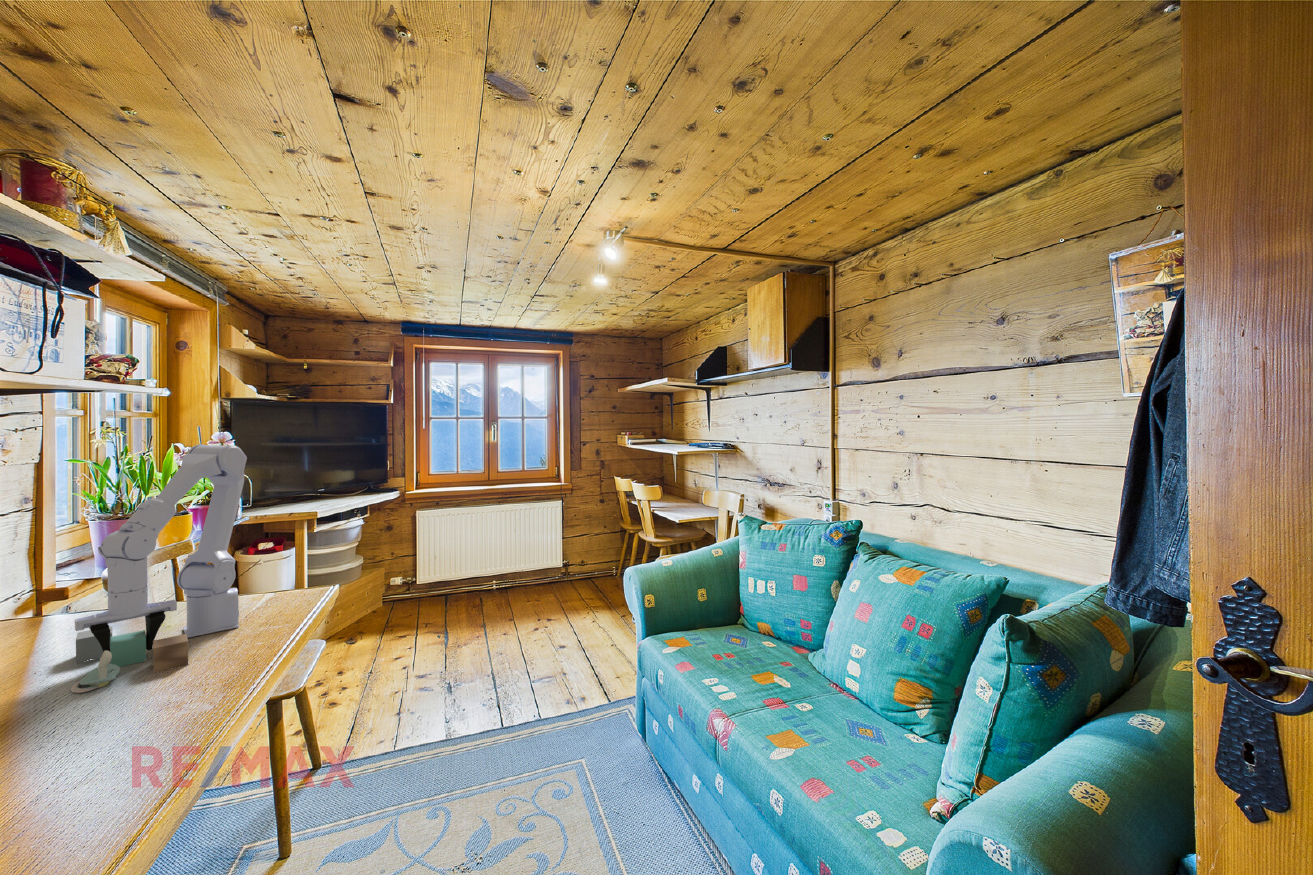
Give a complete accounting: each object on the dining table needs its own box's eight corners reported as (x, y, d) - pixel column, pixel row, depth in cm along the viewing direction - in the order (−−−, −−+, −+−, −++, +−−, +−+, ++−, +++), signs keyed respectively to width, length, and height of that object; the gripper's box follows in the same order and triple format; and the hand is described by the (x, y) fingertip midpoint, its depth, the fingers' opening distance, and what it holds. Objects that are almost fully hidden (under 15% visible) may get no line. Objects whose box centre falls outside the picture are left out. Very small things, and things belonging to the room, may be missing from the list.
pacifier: (66, 699, 91) (114, 688, 95) (64, 665, 91) (112, 655, 95) (76, 683, 97) (121, 672, 101) (74, 651, 97) (119, 641, 100)
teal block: (145, 653, 109) (145, 629, 109) (146, 660, 106) (145, 636, 106) (111, 660, 105) (111, 636, 105) (110, 668, 102) (110, 644, 102)
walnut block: (186, 657, 108) (186, 633, 108) (188, 665, 104) (188, 640, 104) (153, 664, 104) (152, 640, 104) (154, 673, 101) (153, 648, 101)
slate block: (112, 648, 111) (112, 626, 111) (111, 656, 108) (111, 632, 107) (77, 655, 108) (77, 632, 107) (76, 663, 104) (75, 639, 104)
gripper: (171, 576, 113) (171, 637, 114) (72, 593, 102) (73, 660, 102) (179, 583, 109) (179, 645, 110) (76, 601, 98) (77, 671, 98)
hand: (128, 653), depth 106 cm, fingers closed on teal block, 5 cm apart
